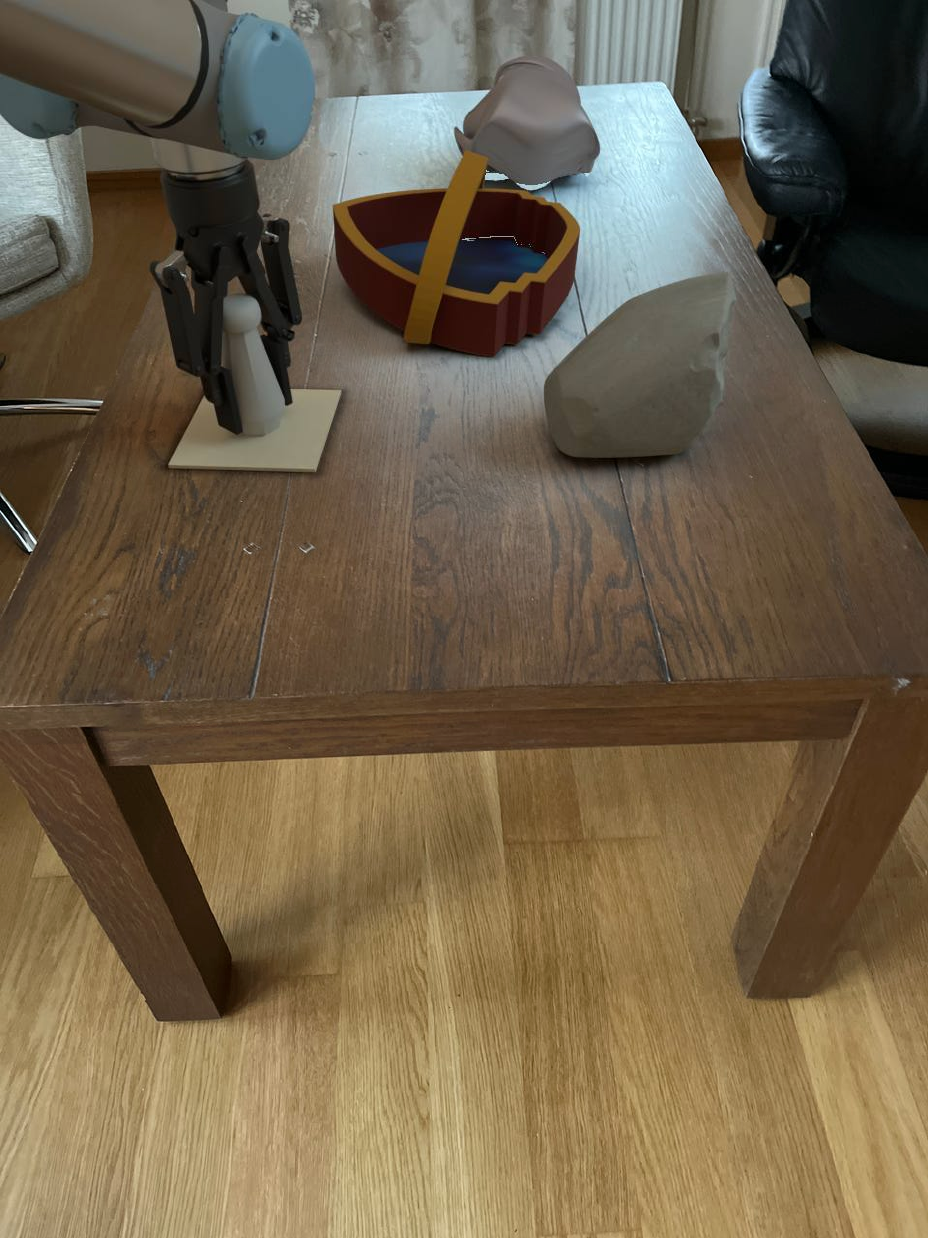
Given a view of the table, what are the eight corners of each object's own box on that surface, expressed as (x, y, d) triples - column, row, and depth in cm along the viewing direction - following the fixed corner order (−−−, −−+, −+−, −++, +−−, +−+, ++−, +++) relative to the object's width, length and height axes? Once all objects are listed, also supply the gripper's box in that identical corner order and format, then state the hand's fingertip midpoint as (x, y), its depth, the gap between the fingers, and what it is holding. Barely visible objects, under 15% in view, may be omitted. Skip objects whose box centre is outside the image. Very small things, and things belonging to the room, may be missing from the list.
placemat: (315, 472, 88) (315, 468, 88) (168, 468, 89) (167, 464, 89) (341, 393, 98) (341, 389, 98) (209, 390, 99) (208, 386, 99)
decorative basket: (542, 389, 102) (571, 254, 91) (283, 329, 104) (283, 189, 93) (583, 261, 126) (610, 142, 115) (373, 214, 128) (380, 93, 117)
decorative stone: (531, 415, 94) (536, 268, 84) (696, 395, 96) (721, 249, 86) (563, 486, 86) (572, 332, 75) (743, 462, 88) (777, 309, 77)
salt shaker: (283, 441, 91) (260, 314, 82) (224, 442, 91) (194, 315, 82) (292, 409, 95) (271, 284, 86) (235, 409, 95) (208, 285, 86)
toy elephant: (458, 213, 135) (464, 107, 123) (449, 146, 145) (453, 42, 133) (596, 212, 137) (615, 109, 125) (577, 146, 147) (593, 44, 135)
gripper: (138, 211, 69) (205, 472, 85) (322, 141, 80) (351, 386, 96) (78, 188, 73) (154, 443, 89) (262, 124, 83) (300, 363, 99)
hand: (256, 413), depth 92 cm, fingers closed on salt shaker, 6 cm apart
